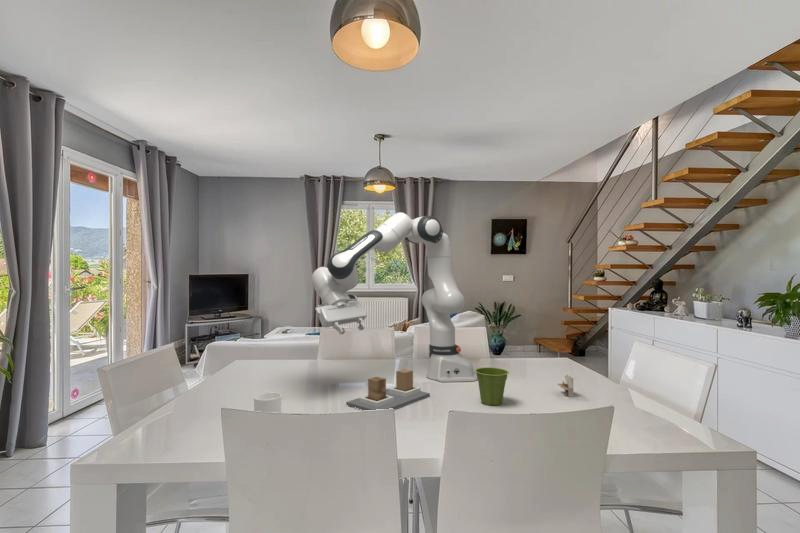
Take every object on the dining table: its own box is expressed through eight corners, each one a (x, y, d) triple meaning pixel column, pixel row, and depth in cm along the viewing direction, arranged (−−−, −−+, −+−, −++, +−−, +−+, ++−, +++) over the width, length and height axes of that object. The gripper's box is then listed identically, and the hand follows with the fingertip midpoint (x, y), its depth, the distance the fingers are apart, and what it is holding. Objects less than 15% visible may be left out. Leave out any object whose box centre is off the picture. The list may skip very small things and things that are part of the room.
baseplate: (397, 388, 166) (397, 365, 166) (429, 396, 156) (429, 371, 156) (346, 405, 146) (346, 378, 146) (379, 415, 135) (379, 387, 135)
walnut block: (376, 399, 149) (376, 376, 149) (386, 401, 146) (385, 378, 146) (368, 401, 146) (368, 378, 146) (377, 404, 143) (377, 381, 143)
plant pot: (502, 410, 140) (502, 376, 140) (469, 404, 146) (469, 372, 146) (513, 401, 150) (513, 369, 150) (482, 395, 156) (481, 365, 156)
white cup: (273, 436, 119) (273, 400, 119) (248, 434, 120) (248, 399, 120) (286, 426, 126) (286, 392, 127) (262, 424, 128) (262, 391, 128)
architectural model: (564, 398, 153) (564, 378, 154) (557, 393, 160) (556, 373, 160) (573, 398, 153) (573, 378, 154) (566, 393, 160) (565, 373, 160)
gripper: (316, 300, 152) (334, 330, 146) (359, 295, 167) (376, 322, 161) (310, 311, 156) (326, 341, 149) (352, 305, 171) (368, 332, 164)
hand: (352, 331), depth 155 cm, fingers open, 8 cm apart
